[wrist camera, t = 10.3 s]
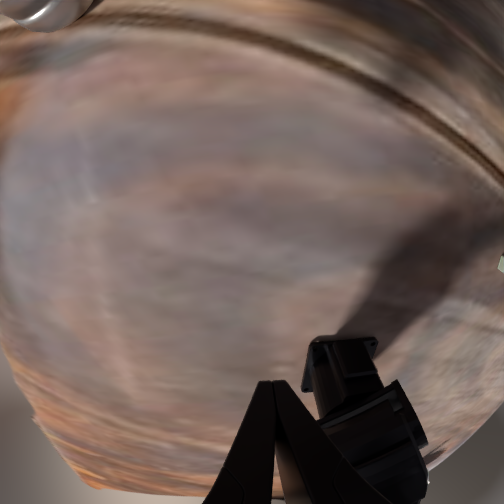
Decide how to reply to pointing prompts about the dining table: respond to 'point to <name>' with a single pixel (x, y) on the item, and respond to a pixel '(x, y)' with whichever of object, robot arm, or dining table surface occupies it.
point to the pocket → (501, 264)
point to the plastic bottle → (44, 13)
